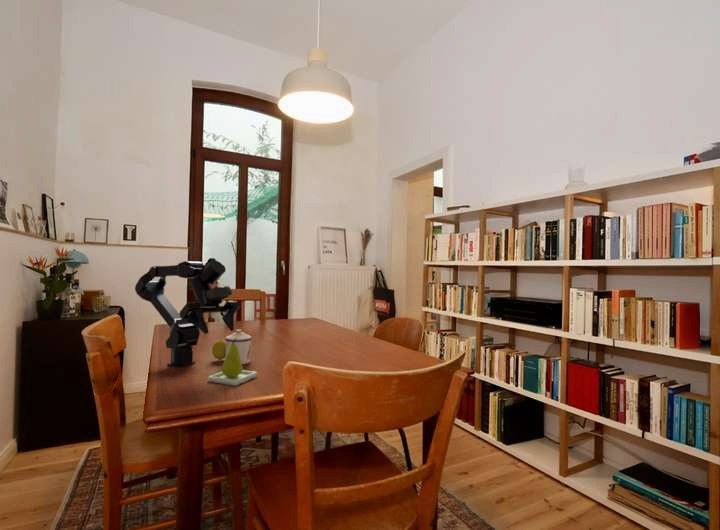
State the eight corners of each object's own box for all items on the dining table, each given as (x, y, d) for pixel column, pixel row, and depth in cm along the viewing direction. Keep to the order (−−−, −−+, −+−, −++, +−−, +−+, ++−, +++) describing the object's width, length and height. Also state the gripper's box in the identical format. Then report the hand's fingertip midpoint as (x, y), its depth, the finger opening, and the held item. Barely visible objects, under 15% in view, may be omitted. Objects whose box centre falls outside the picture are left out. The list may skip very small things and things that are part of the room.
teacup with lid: (253, 364, 131) (254, 331, 131) (226, 366, 127) (227, 332, 127) (246, 356, 142) (247, 326, 142) (221, 358, 137) (222, 327, 138)
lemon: (222, 363, 131) (223, 340, 131) (208, 361, 132) (209, 339, 132) (231, 359, 137) (231, 337, 137) (217, 358, 138) (218, 336, 138)
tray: (208, 381, 110) (208, 376, 110) (231, 372, 119) (231, 368, 119) (235, 385, 106) (235, 380, 106) (256, 376, 116) (257, 372, 116)
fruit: (219, 375, 114) (220, 336, 114) (239, 373, 117) (240, 335, 117) (223, 381, 108) (225, 340, 109) (245, 378, 112) (246, 338, 112)
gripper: (189, 276, 112) (206, 318, 106) (239, 278, 127) (257, 315, 121) (172, 298, 116) (187, 340, 110) (223, 297, 132) (239, 334, 126)
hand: (220, 331), depth 117 cm, fingers open, 9 cm apart
